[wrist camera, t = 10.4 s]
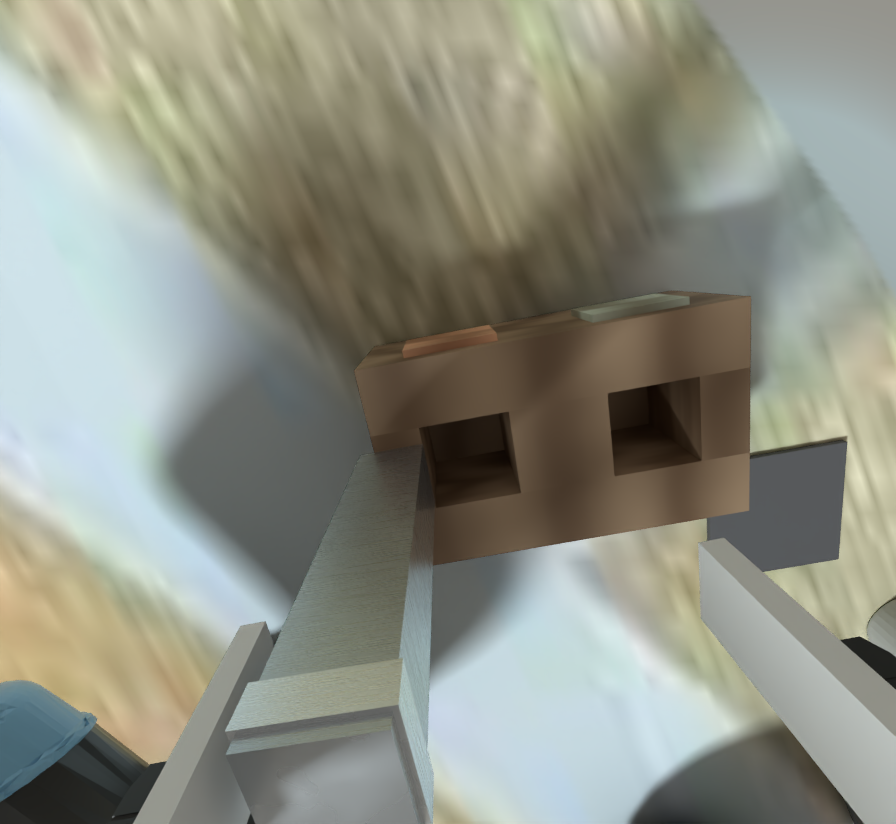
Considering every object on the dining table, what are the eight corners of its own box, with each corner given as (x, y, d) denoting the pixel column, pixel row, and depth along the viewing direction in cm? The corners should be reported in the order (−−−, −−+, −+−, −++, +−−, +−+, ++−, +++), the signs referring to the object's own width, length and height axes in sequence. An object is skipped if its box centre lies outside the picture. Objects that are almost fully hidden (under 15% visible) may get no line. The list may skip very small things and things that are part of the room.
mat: (708, 577, 37) (711, 580, 36) (705, 464, 34) (708, 466, 34) (834, 556, 37) (838, 559, 36) (842, 440, 34) (847, 441, 33)
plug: (372, 513, 26) (269, 872, 10) (356, 452, 25) (215, 751, 9) (438, 502, 25) (432, 848, 10) (424, 440, 24) (396, 723, 9)
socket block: (411, 504, 34) (403, 570, 27) (373, 340, 31) (351, 363, 23) (678, 456, 34) (749, 510, 26) (671, 284, 30) (750, 288, 23)
